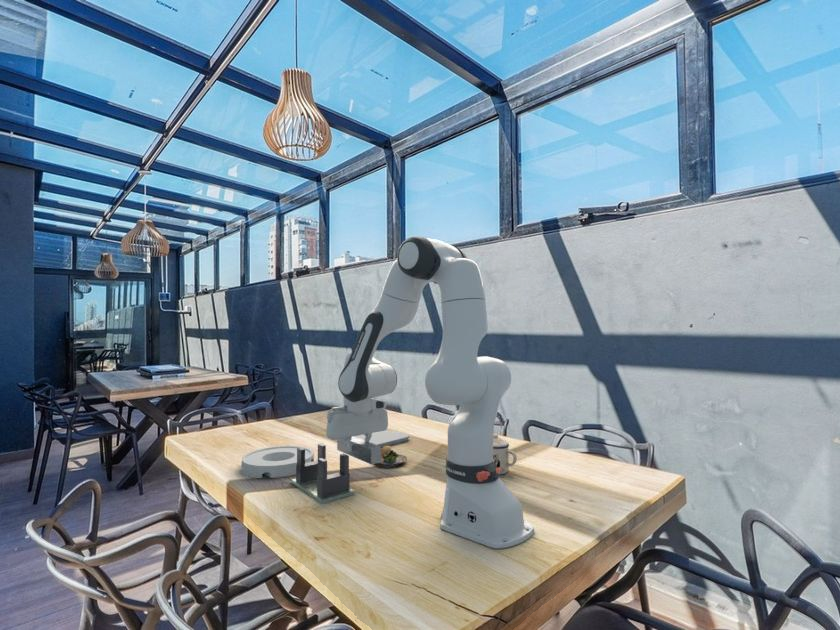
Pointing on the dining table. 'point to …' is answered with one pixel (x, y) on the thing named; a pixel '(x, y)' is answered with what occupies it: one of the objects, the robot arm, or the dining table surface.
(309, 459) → the ashtray
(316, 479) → the bracket stand
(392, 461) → the burger
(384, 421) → the robot arm
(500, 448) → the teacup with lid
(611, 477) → the dining table surface
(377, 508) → the dining table surface
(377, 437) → the tablet
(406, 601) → the dining table surface
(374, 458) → the rail
